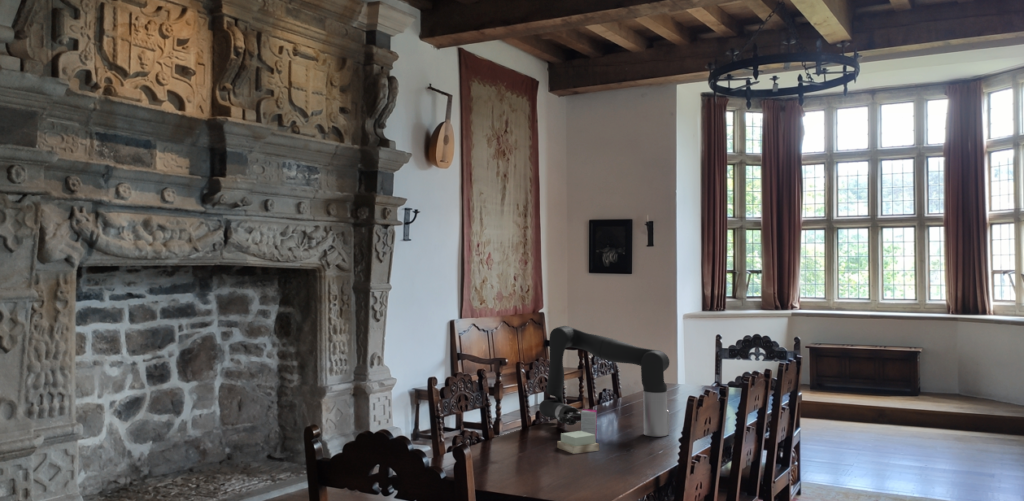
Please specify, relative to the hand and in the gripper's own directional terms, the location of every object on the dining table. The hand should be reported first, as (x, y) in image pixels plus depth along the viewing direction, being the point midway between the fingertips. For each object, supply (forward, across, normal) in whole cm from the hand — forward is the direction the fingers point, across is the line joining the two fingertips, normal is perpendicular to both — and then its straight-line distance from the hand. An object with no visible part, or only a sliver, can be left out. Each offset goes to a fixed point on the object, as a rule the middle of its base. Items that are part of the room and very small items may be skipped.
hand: (583, 421), depth 301 cm
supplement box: (+5, 0, +7) cm, 8 cm away
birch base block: (+17, -10, +7) cm, 22 cm away
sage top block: (+17, -10, +4) cm, 21 cm away
